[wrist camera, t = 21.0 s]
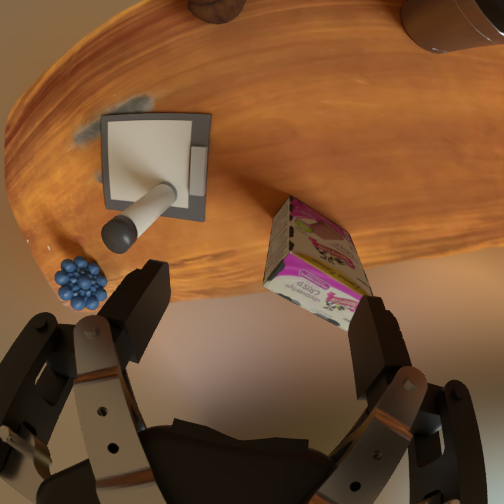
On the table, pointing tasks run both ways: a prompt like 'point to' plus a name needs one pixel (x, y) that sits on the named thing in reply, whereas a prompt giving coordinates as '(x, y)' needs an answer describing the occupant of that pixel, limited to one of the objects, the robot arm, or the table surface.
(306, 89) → the table surface
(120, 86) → the table surface
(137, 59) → the table surface
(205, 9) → the wooden figurine
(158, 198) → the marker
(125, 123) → the clipboard
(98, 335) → the robot arm
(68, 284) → the grapes
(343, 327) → the candy bar box
